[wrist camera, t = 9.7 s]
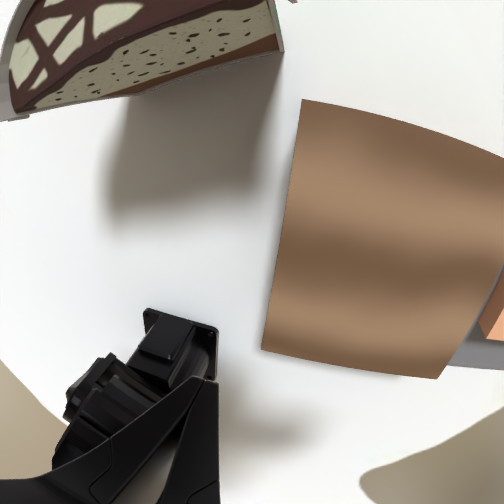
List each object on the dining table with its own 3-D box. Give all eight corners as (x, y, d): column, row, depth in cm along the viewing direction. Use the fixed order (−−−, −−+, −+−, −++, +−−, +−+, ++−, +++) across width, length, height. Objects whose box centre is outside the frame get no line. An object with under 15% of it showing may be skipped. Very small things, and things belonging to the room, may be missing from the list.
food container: (285, -42, 11) (237, -145, 3) (311, 46, 14) (289, -22, 5) (105, 25, 15) (-16, 15, 6) (121, 102, 18) (-6, 126, 9)
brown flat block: (426, 339, 20) (437, 379, 17) (272, 310, 22) (260, 349, 18) (499, 156, 13) (533, 172, 10) (307, 100, 15) (301, 99, 12)
